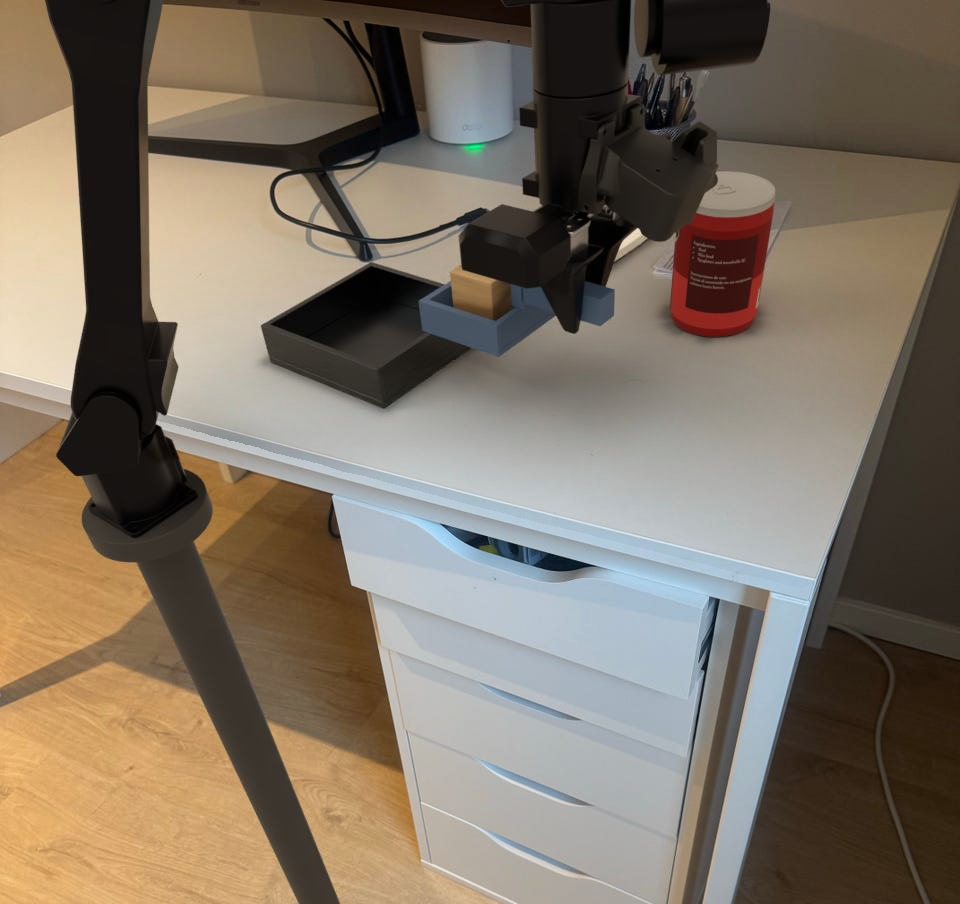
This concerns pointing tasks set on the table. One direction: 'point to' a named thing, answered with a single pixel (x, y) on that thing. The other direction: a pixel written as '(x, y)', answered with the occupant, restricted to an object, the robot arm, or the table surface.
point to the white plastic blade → (630, 243)
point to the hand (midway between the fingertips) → (579, 325)
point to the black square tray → (362, 335)
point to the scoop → (506, 317)
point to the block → (480, 294)
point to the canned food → (723, 257)
